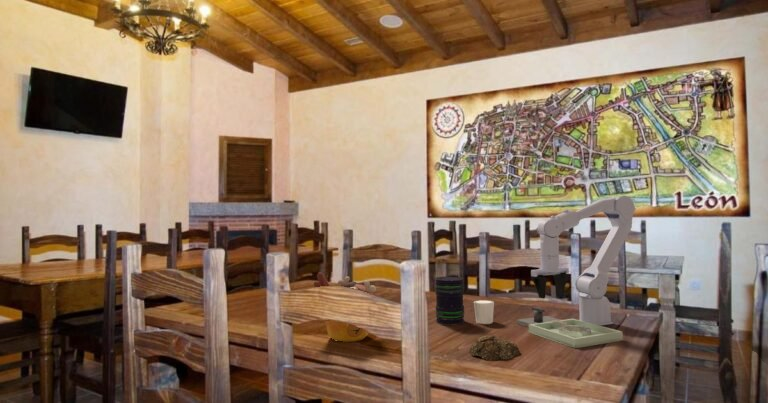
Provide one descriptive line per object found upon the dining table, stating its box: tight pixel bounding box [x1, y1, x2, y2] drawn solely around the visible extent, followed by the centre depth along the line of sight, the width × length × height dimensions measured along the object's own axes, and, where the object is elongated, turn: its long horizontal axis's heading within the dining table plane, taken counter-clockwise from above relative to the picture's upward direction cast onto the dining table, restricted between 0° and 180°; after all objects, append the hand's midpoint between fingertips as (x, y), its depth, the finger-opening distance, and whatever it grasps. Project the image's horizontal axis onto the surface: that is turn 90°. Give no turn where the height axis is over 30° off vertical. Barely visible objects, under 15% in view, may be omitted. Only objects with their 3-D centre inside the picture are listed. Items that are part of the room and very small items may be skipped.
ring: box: [552, 320, 591, 338], centre depth 144 cm, size 13×9×2 cm
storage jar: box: [434, 275, 465, 326], centre depth 164 cm, size 10×10×15 cm
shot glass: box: [473, 299, 495, 325], centre depth 163 cm, size 7×7×7 cm
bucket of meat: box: [313, 272, 377, 343], centre depth 146 cm, size 20×16×20 cm
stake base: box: [516, 306, 561, 328], centre depth 157 cm, size 13×11×6 cm
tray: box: [528, 318, 624, 349], centre depth 142 cm, size 18×19×2 cm
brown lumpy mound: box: [469, 334, 521, 361], centre depth 127 cm, size 13×12×5 cm
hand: (550, 296), depth 156 cm, fingers open, 7 cm apart
